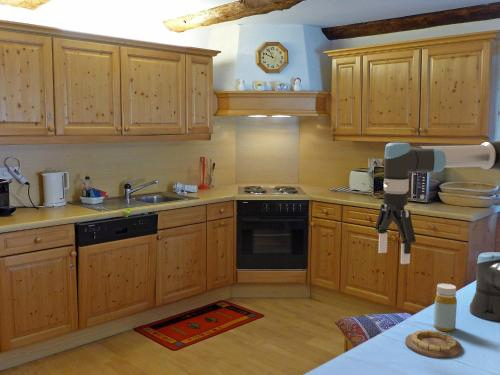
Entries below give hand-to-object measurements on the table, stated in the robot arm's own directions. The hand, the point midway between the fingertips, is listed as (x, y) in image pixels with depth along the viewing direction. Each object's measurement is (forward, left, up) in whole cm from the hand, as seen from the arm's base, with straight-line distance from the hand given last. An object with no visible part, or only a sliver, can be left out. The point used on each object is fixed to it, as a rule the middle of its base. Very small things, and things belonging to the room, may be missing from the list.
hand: (393, 258), depth 168 cm
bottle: (-23, -5, -28) cm, 37 cm away
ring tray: (-11, +7, -28) cm, 31 cm away
